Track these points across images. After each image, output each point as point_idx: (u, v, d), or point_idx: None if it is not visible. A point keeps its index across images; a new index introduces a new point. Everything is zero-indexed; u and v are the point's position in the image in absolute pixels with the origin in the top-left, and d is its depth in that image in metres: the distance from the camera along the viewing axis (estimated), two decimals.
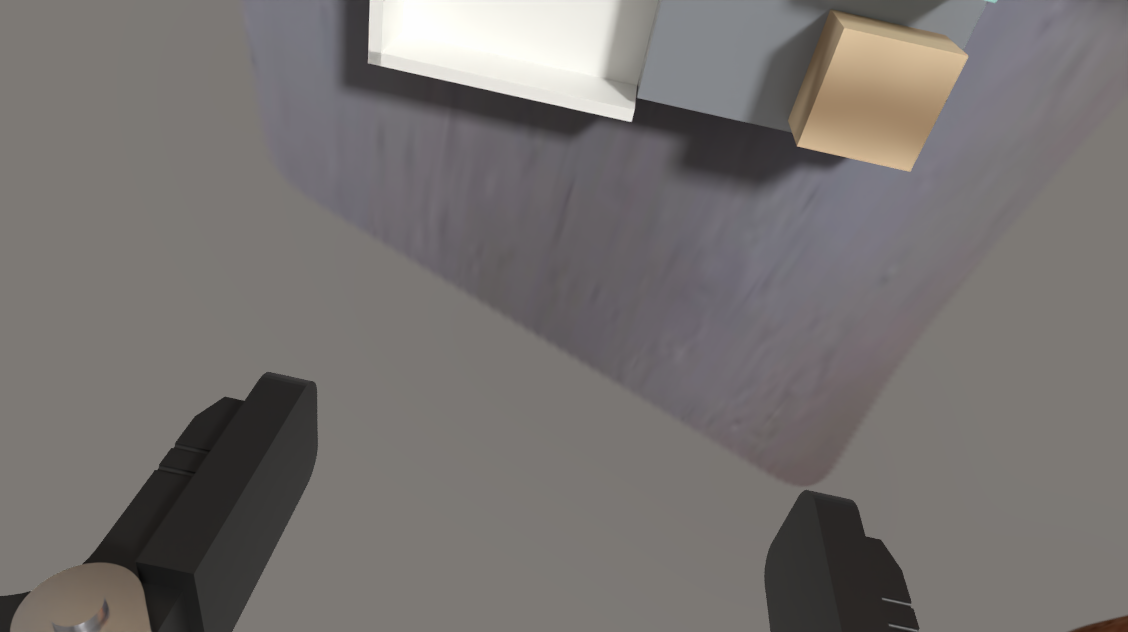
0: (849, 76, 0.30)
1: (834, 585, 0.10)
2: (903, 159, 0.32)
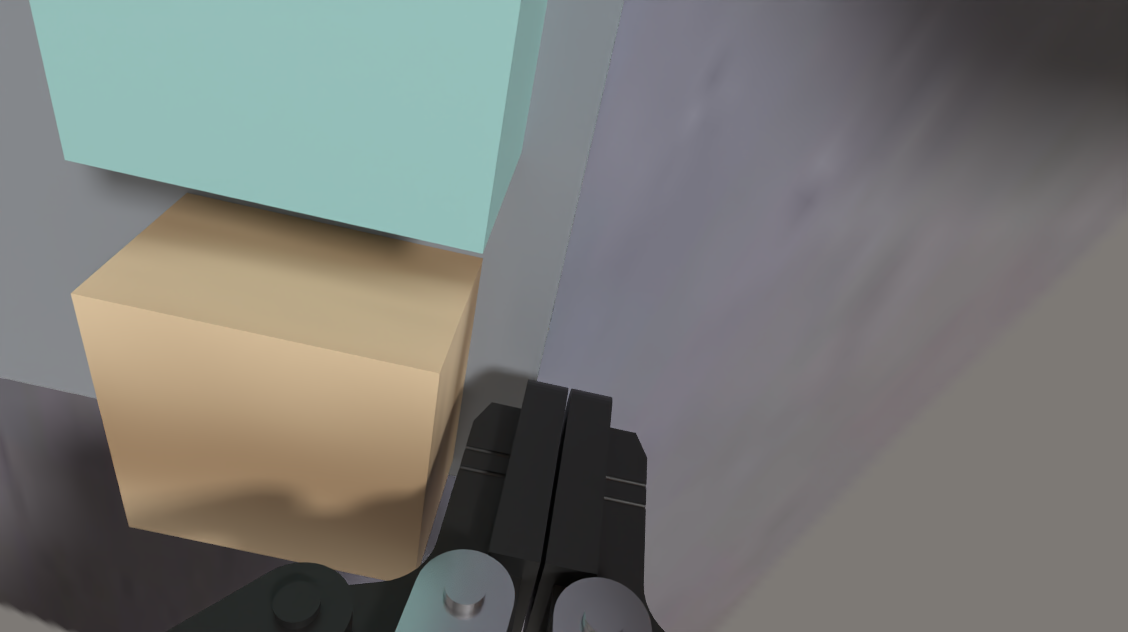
0: (158, 402, 0.11)
1: (565, 463, 0.11)
2: (386, 564, 0.13)
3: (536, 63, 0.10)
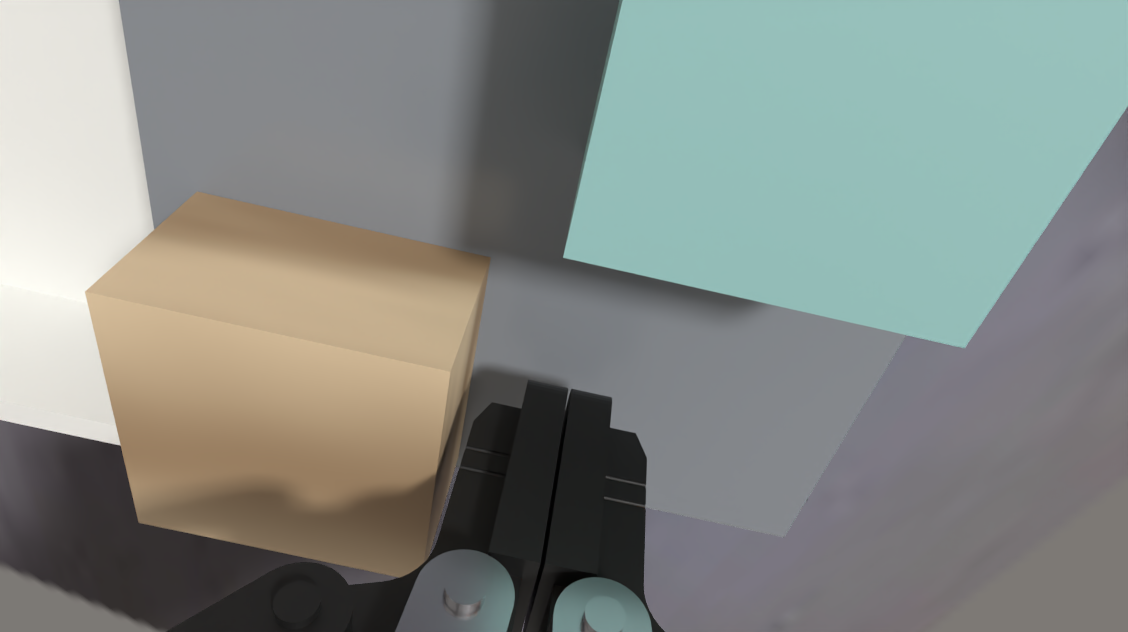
0: (170, 399, 0.11)
1: (565, 463, 0.11)
2: (394, 560, 0.13)
3: None
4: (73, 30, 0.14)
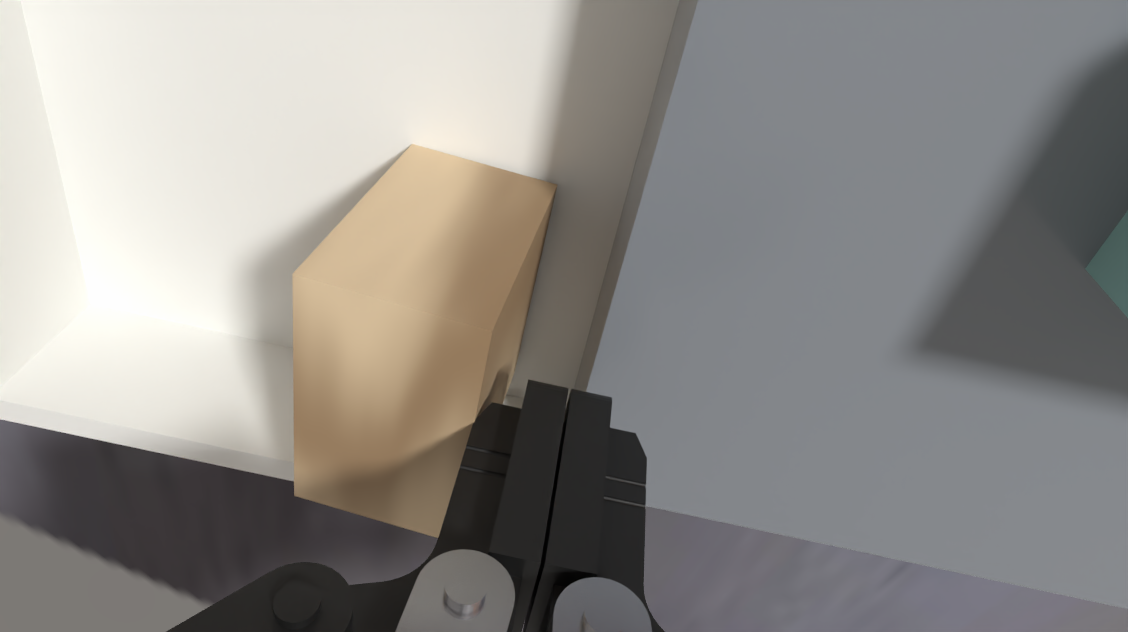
0: None
1: (565, 463, 0.11)
2: None
3: None
4: (491, 127, 0.14)
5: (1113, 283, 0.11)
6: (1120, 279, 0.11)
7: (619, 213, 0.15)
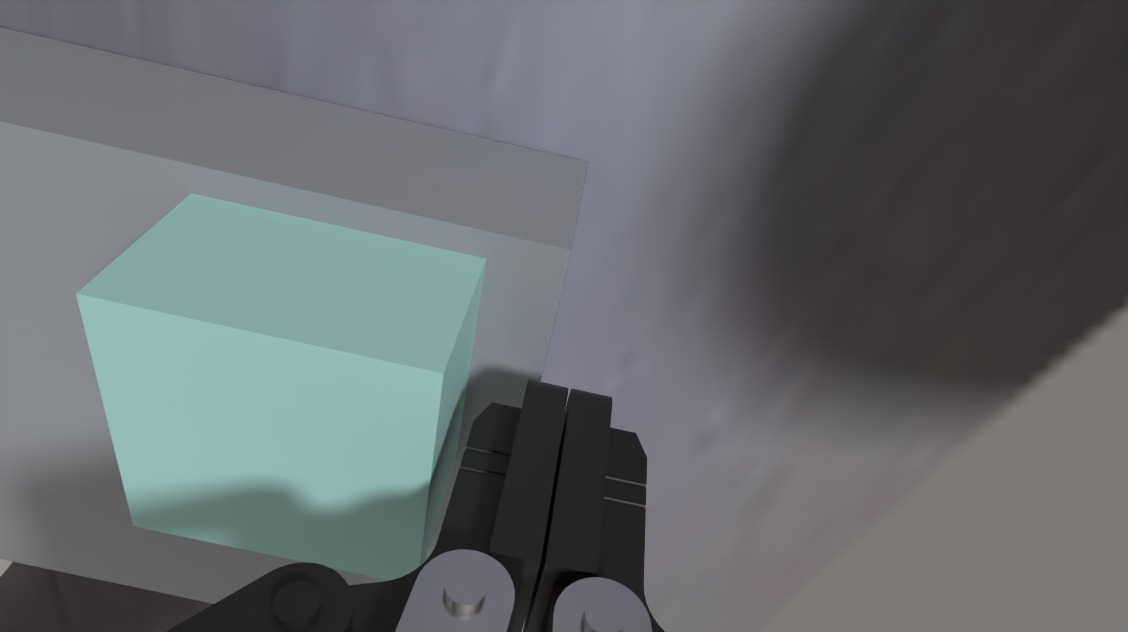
0: None
1: (564, 463, 0.11)
2: None
3: (462, 414, 0.15)
4: None
5: None
6: None
7: None
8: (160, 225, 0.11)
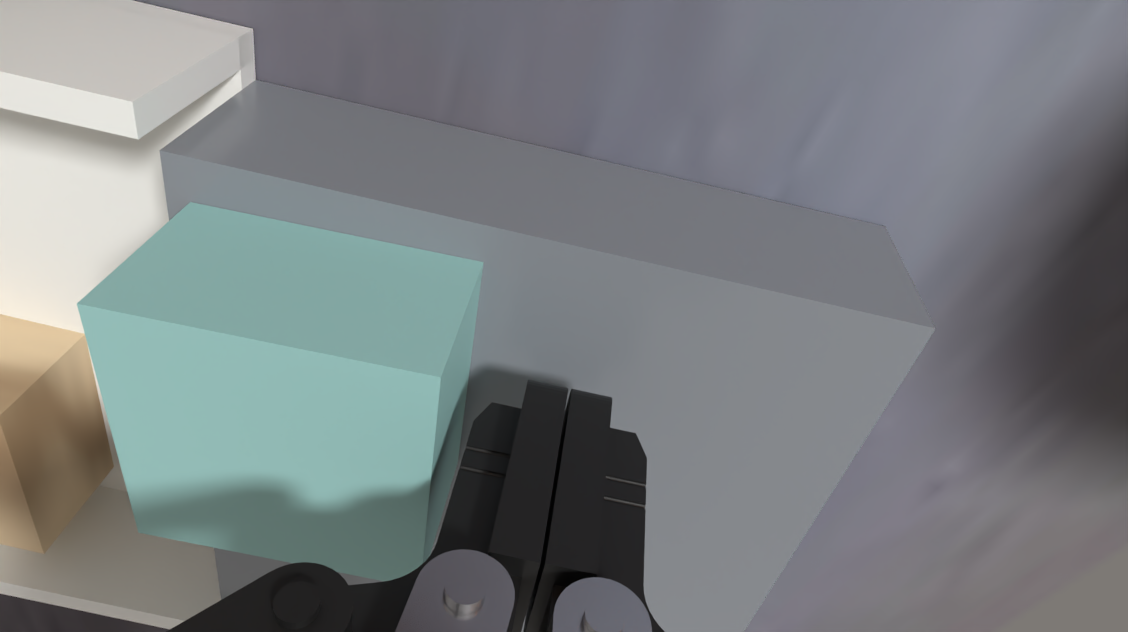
0: None
1: (565, 463, 0.11)
2: None
3: (463, 416, 0.15)
4: None
5: None
6: None
7: None
8: (159, 233, 0.12)
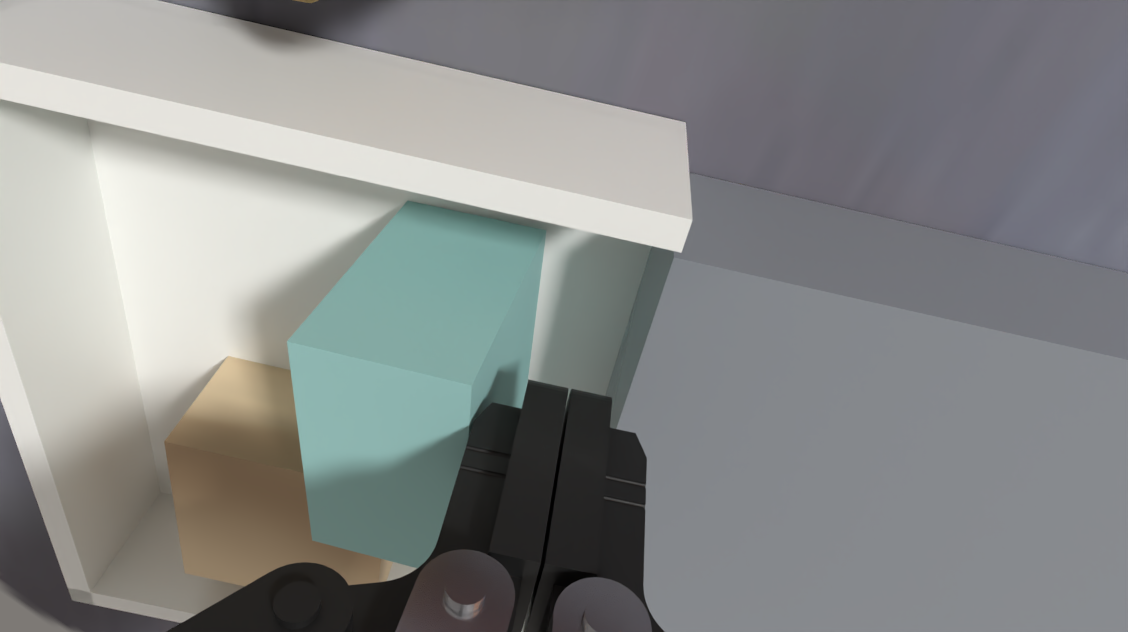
0: None
1: (564, 463, 0.11)
2: None
3: None
4: None
5: None
6: None
7: None
8: (495, 220, 0.15)
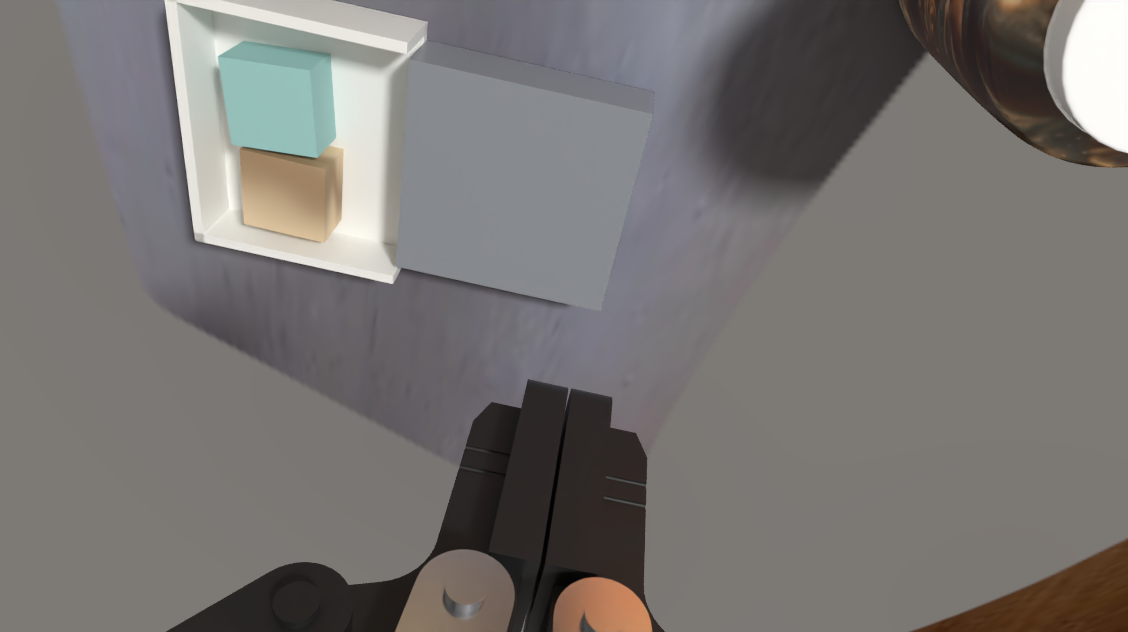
0: None
1: (565, 463, 0.11)
2: None
3: (228, 120, 0.42)
4: (368, 143, 0.45)
5: (321, 150, 0.43)
6: (321, 148, 0.43)
7: None
8: (316, 64, 0.40)
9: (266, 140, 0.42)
